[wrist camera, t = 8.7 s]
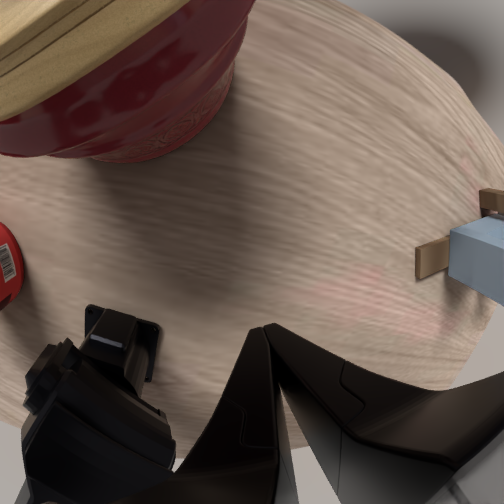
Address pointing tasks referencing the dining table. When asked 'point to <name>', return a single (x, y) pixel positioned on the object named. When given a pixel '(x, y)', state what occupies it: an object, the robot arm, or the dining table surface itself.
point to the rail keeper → (438, 251)
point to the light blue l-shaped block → (479, 256)
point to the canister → (113, 74)
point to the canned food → (9, 267)
